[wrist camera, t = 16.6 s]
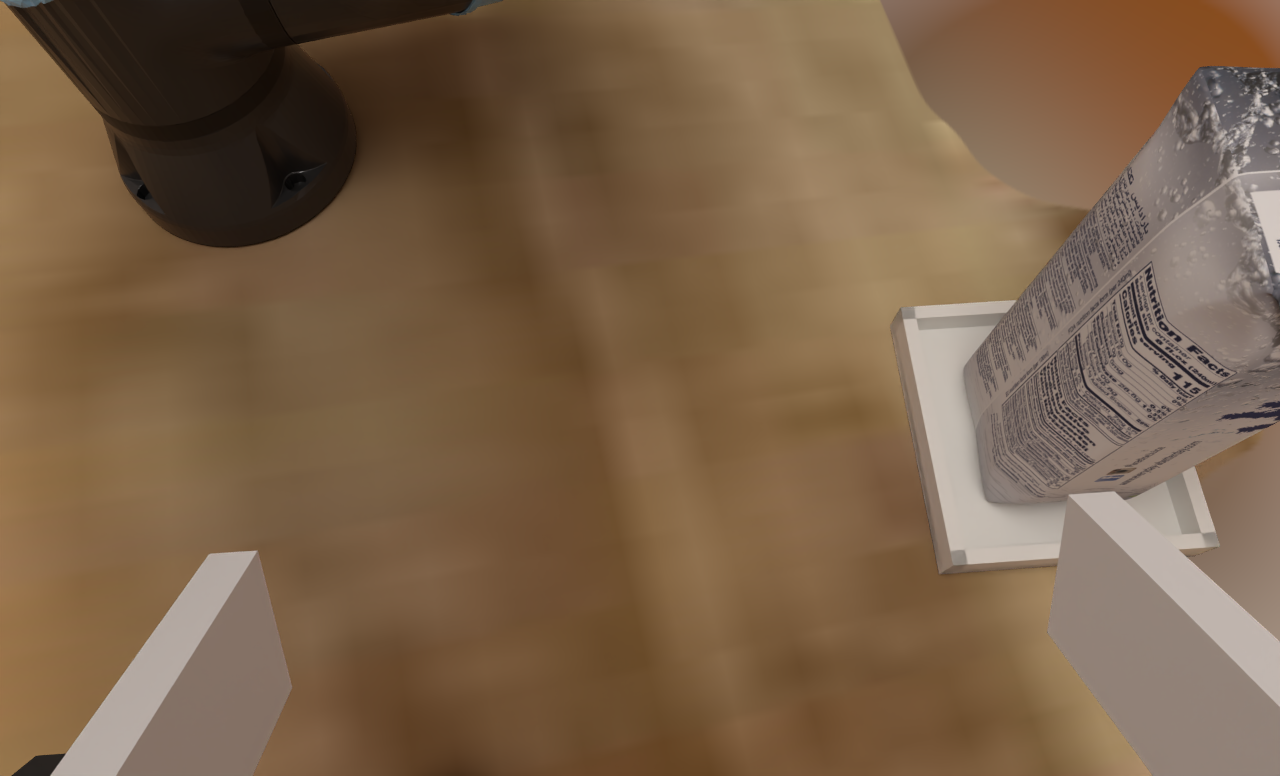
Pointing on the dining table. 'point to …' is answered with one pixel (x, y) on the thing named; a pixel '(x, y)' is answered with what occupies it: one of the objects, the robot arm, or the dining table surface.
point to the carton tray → (951, 467)
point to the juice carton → (1147, 313)
